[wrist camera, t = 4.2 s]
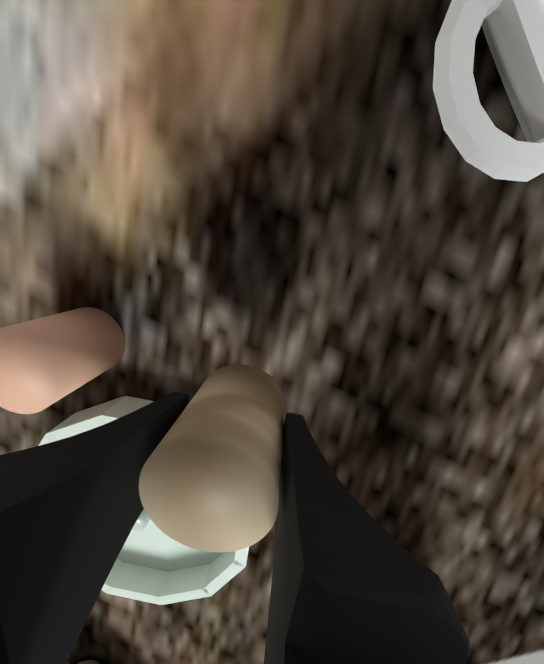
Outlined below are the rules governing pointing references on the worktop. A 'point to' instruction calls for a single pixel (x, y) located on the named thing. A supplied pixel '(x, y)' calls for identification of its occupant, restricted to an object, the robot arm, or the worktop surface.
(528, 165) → the pan
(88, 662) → the ceramic mug
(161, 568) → the groove tray
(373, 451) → the worktop surface
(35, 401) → the peach rounded oval piece
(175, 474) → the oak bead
